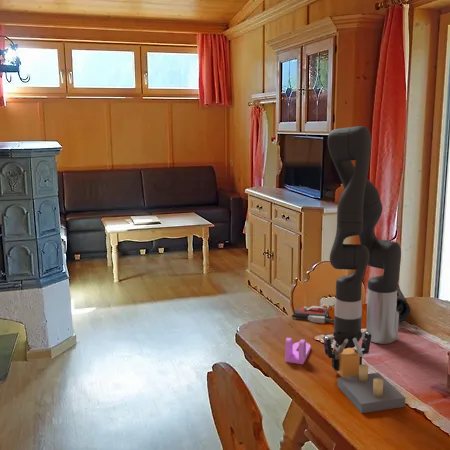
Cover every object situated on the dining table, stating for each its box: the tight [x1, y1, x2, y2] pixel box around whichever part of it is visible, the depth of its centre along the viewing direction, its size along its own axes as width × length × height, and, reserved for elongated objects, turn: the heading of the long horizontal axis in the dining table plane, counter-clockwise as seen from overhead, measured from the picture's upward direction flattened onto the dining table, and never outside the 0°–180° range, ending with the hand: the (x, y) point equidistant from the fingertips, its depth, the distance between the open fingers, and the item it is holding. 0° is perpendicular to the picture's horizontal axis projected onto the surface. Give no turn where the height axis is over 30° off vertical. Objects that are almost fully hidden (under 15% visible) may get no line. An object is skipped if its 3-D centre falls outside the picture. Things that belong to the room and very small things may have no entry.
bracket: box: [284, 337, 312, 365], centre depth 164 cm, size 13×6×7 cm, turn 159°
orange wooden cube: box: [336, 348, 360, 377], centre depth 152 cm, size 5×5×6 cm
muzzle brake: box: [396, 284, 411, 323], centre depth 199 cm, size 10×28×10 cm, turn 172°
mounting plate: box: [337, 363, 407, 414], centre depth 139 cm, size 12×14×6 cm
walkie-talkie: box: [291, 305, 334, 324], centre depth 193 cm, size 9×4×20 cm
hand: (346, 368), depth 152 cm, fingers open, 6 cm apart
